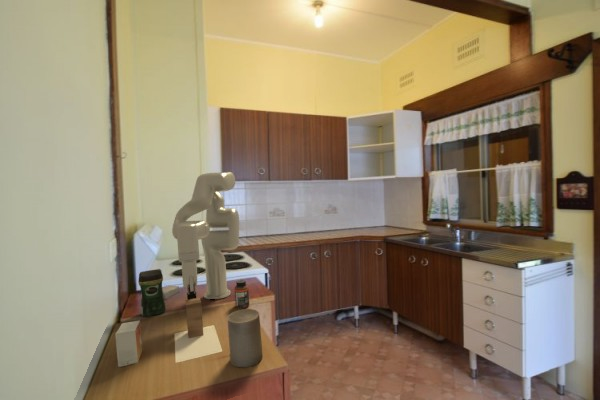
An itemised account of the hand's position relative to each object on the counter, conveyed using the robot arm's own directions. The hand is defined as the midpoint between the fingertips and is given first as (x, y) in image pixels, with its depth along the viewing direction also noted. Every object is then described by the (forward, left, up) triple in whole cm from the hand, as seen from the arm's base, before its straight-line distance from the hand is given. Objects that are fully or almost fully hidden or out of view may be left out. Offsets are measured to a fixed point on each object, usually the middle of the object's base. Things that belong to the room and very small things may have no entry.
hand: (192, 302), depth 122 cm
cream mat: (+15, 0, -9) cm, 18 cm away
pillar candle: (+33, +13, -9) cm, 37 cm away
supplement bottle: (-9, +21, -9) cm, 25 cm away
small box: (+16, -20, -9) cm, 27 cm away
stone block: (-43, -11, -9) cm, 45 cm away
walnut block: (+9, 0, -8) cm, 12 cm away
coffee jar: (-21, -15, -9) cm, 27 cm away
